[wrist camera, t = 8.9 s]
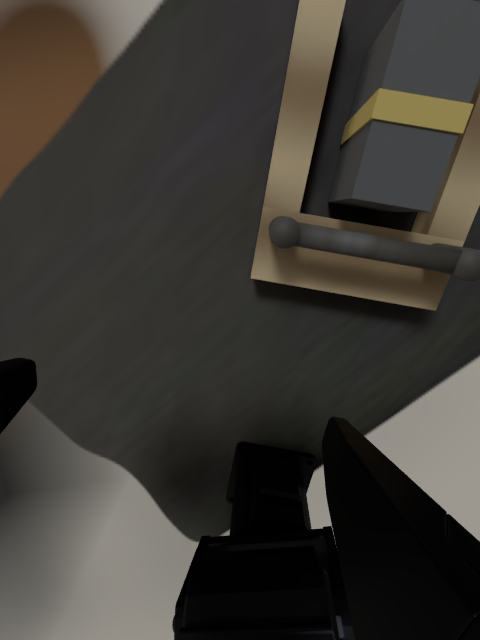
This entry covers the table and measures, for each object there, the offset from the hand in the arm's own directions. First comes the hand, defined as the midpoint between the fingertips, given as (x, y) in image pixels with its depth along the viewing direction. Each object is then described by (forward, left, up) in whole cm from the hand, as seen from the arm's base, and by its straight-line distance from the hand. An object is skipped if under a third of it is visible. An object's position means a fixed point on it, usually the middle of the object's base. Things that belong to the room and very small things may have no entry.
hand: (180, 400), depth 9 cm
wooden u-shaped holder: (+9, -7, -12) cm, 16 cm away
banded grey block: (+10, -7, -12) cm, 17 cm away
